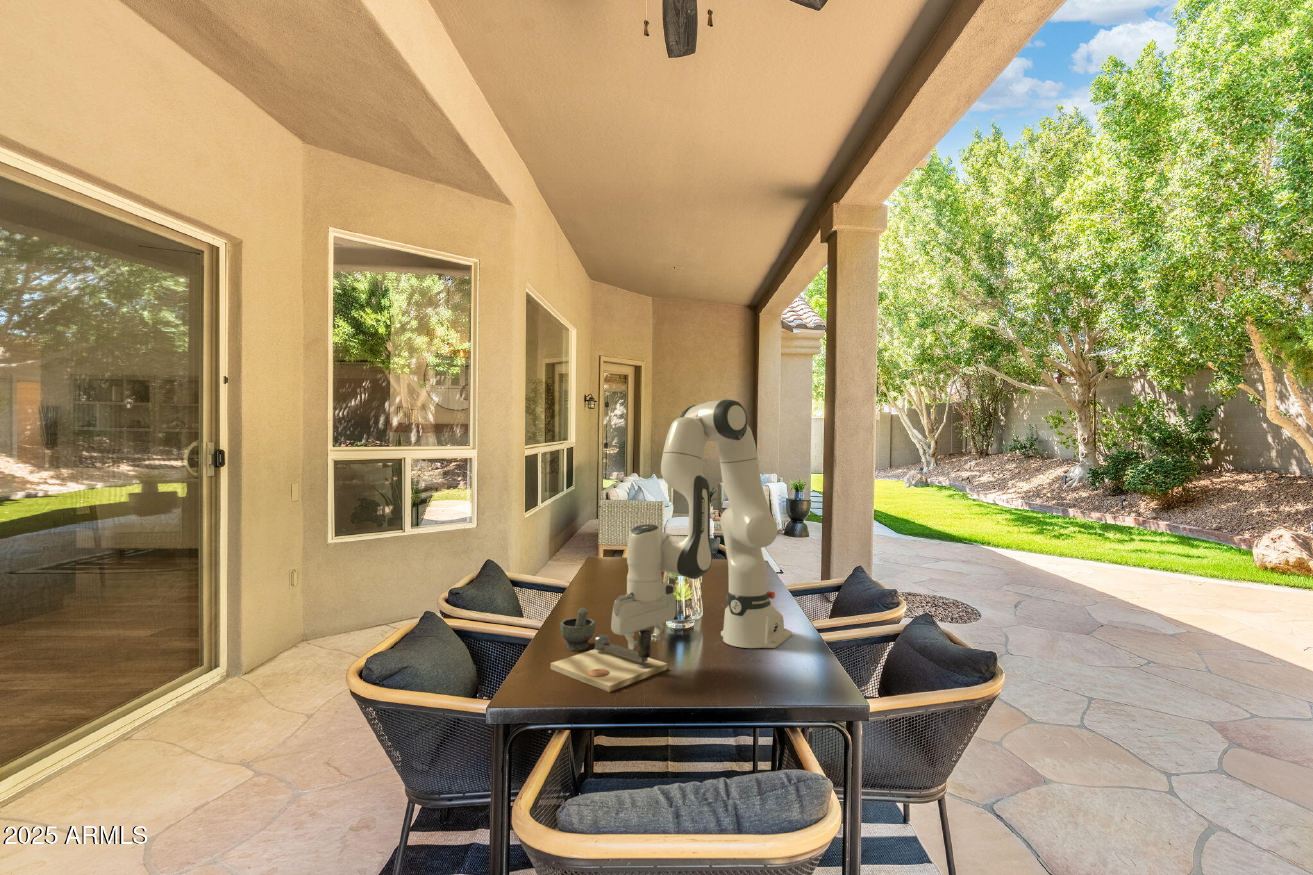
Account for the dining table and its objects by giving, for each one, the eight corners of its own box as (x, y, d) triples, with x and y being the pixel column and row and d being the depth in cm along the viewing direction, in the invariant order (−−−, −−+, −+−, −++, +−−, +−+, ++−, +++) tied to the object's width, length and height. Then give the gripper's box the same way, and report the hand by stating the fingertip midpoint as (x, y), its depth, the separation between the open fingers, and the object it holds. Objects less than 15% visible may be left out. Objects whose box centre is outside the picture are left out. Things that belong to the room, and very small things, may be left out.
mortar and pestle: (556, 643, 182) (556, 602, 183) (587, 639, 186) (587, 598, 186) (567, 655, 172) (567, 611, 172) (600, 651, 176) (600, 607, 176)
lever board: (608, 650, 177) (608, 644, 177) (666, 669, 162) (666, 662, 162) (550, 669, 162) (550, 662, 162) (609, 692, 147) (609, 684, 147)
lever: (602, 644, 174) (602, 615, 174) (654, 661, 161) (654, 629, 161) (591, 647, 171) (591, 618, 171) (643, 665, 158) (643, 633, 158)
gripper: (623, 599, 151) (623, 657, 151) (679, 585, 166) (679, 638, 166) (605, 595, 155) (605, 651, 155) (662, 581, 170) (661, 633, 170)
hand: (644, 644), depth 160 cm, fingers open, 7 cm apart
